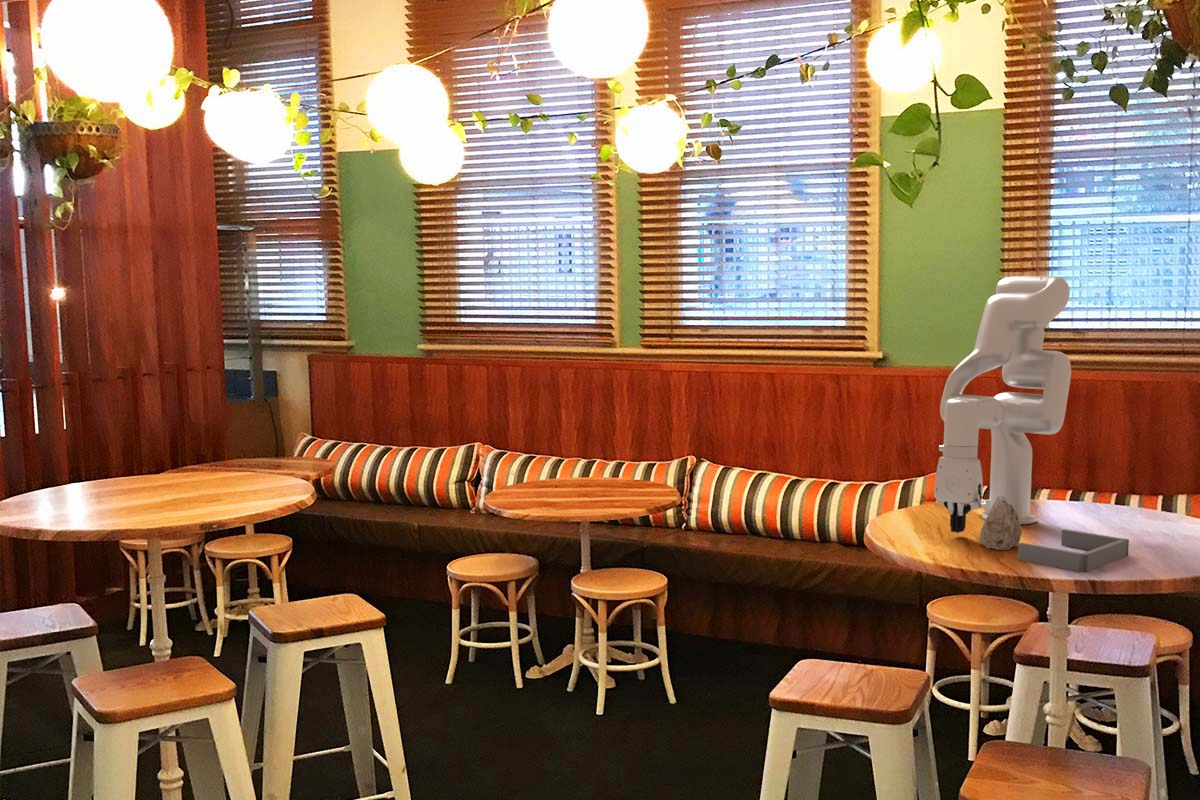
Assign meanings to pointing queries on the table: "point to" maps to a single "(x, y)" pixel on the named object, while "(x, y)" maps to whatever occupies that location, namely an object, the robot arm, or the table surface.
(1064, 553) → the frame
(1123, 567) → the table surface
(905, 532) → the table surface
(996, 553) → the table surface
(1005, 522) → the rock
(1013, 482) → the robot arm
